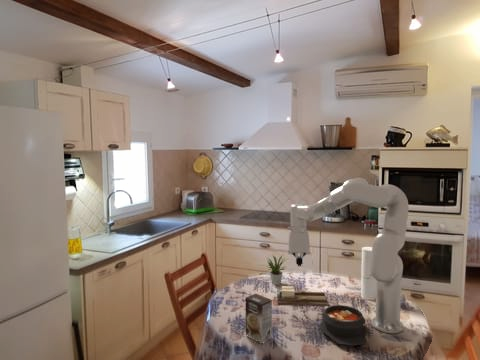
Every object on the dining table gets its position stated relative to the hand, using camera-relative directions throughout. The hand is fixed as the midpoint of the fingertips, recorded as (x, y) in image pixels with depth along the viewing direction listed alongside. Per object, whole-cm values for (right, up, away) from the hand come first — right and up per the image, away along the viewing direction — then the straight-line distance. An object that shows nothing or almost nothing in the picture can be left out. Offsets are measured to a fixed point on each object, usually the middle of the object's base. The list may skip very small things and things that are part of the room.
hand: (299, 265), depth 172 cm
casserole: (+13, -21, -30) cm, 38 cm away
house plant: (-8, -16, +24) cm, 30 cm away
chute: (+1, -18, +2) cm, 18 cm away
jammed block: (-5, -17, +2) cm, 17 cm away
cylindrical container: (+36, -17, +4) cm, 40 cm away
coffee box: (-22, -21, -32) cm, 44 cm away
